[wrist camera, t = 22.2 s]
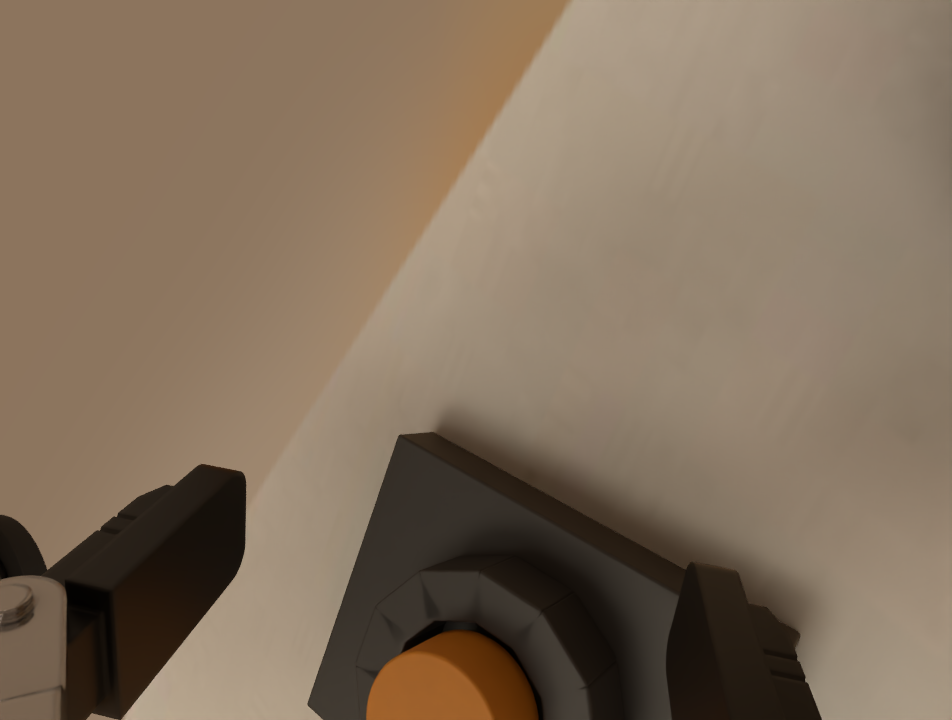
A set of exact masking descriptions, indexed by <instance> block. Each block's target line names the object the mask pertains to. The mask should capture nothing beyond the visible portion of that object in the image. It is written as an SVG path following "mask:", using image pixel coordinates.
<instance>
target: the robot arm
mask: <svg viewBox="0 0 952 720" xmlns="http://www.w3.org/2000/svg"><path fill="white" fill-rule="evenodd" d="M245 529H246V479H245V476H244V474H243V473H242V472H241V471H236V470H231V469H225V468H221V467H215V466H210V465H205V464H201V465H198V466H197V467H196V468H195V469H193V470H192V471H191V472H190V473H189V474H188V475H186V476H185V477H184V478H183V479H182V480H180V481H179V482H178V483H177V484H176V485H175V486H170V485H165V486H162V487H160V488H158V489H155V490H153V491H151V492H148V493H146V494H144V495H141V496H139V497H137V498H136V499H135V500H134V501H132V502H131V503H130V504H129V505H128V506H126V507H125V508H124V509H123V510H121V511H120V512H119V513H118V516H117V517H113V518H111V519H110V520H109V521H108V522H107V523H105V524H104V525H103V526H102V527H101V530H100V531H96V532H94V533H93V534H92V535H91V536H89V537H88V538H87V539H86V540H84V541H83V542H82V543H81V544H79V545H78V546H77V547H76V548H74V549H73V550H72V551H71V552H69V553H68V554H67V555H66V556H65V557H63V558H62V559H61V560H60V561H59V562H57V563H56V564H55V565H53V567H51V568H50V569H48V570H47V571H46V572H45V573H44V574H42V575H41V576H32V575H31V576H17V577H11V578H9V577H8V574H7V572H6V569H5V567H4V565H3V563H2V561H1V560H0V720H86V719H87V718H88V717H89V716H90V714H91V713H94V714H98V715H102V716H106V717H110V718H114V719H118V720H121V719H122V718H123V716H124V715H125V714H126V713H127V711H128V710H129V709H130V708H131V706H132V705H133V704H134V703H135V701H136V700H137V699H138V698H139V696H140V695H141V694H142V693H143V691H144V690H145V689H146V688H147V686H148V685H149V684H150V683H151V681H152V680H153V679H154V678H155V676H156V675H157V674H158V673H159V671H160V670H161V669H162V668H163V666H164V665H165V664H166V663H167V661H168V660H169V659H170V658H171V656H172V655H173V654H174V653H175V651H176V650H177V649H178V648H179V646H180V645H181V644H182V643H183V641H184V640H185V639H186V638H187V636H188V635H189V634H190V633H191V631H192V630H193V629H194V628H195V626H196V625H197V624H198V623H199V621H200V620H201V619H202V618H203V616H204V615H205V614H206V613H207V611H208V610H209V609H210V608H211V606H212V605H213V604H214V603H215V601H216V600H217V599H218V598H219V596H220V595H221V594H222V593H223V591H224V590H225V589H226V588H227V586H228V585H229V584H230V583H231V581H232V580H233V579H234V577H235V576H236V574H237V572H238V570H239V567H240V565H241V562H242V559H243V555H244V550H245ZM797 657H798V656H797V654H796V651H795V648H794V646H793V643H792V641H791V638H790V635H789V633H788V631H787V630H786V629H785V628H784V626H783V625H782V624H781V623H780V622H779V621H778V620H777V618H776V617H775V616H774V615H773V614H772V613H771V612H770V611H769V609H768V608H767V607H763V606H758V605H753V604H748V601H747V598H746V595H745V592H744V589H743V586H742V583H741V579H740V576H739V574H738V572H737V571H736V570H732V569H727V568H722V567H717V566H712V565H707V564H702V563H697V562H690V564H689V565H688V567H687V570H686V573H685V576H684V580H683V584H682V588H681V591H680V595H679V599H678V603H677V606H676V610H675V614H674V618H673V621H672V625H671V629H670V633H669V637H668V642H667V650H666V678H667V685H668V693H669V701H670V708H671V716H672V720H822V719H821V716H820V714H819V711H818V708H817V706H816V703H815V701H814V698H813V695H812V693H811V690H810V688H809V685H808V683H806V682H805V678H806V677H805V675H804V672H803V669H802V667H801V664H800V662H799V661H797Z"/></svg>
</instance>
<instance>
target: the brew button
mask: <svg viewBox="0 0 952 720" xmlns="http://www.w3.org/2000/svg"><path fill="white" fill-rule="evenodd" d="M366 720H539V716H538V710H537V704H536V700H535V697H534V693H533V691H532V688H531V686H530V683H529V681H528V679H527V677H526V675H525V673H524V672H523V670H522V669H521V667H520V666H519V664H518V663H517V662H516V660H515V659H514V658H513V657H512V655H511V654H510V653H509V652H508V651H507V650H506V649H505V648H503V647H502V646H501V645H500V644H498V643H497V642H496V641H494V640H492V639H491V638H489V637H487V636H485V635H483V634H480V633H477V632H474V631H470V630H462V629H460V630H450V631H445V632H443V633H440V634H438V635H436V636H434V637H432V638H430V639H428V640H426V641H424V642H423V643H421V644H419V645H417V646H415V647H413V648H411V649H409V650H407V651H405V652H403V653H401V654H399V655H398V656H396V657H394V658H393V659H391V660H390V661H389V662H388V663H387V664H385V666H384V667H383V668H382V669H381V670H380V672H379V674H378V675H377V677H376V679H375V680H374V683H373V685H372V687H371V690H370V694H369V697H368V703H367V712H366Z"/></svg>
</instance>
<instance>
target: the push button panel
mask: <svg viewBox="0 0 952 720" xmlns="http://www.w3.org/2000/svg"><path fill="white" fill-rule="evenodd" d="M685 573H686V570H684V569H682V568H680V567H679V566H677V565H675V564H673V563H671V562H669V561H668V560H666V559H664V558H662V557H660V556H658V555H657V554H655V553H653V552H651V551H649V550H647V549H646V548H644V547H642V546H640V545H638V544H636V543H635V542H633V541H631V540H629V539H627V538H625V537H624V536H622V535H620V534H618V533H616V532H615V531H613V530H611V529H609V528H607V527H605V526H604V525H602V524H600V523H598V522H596V521H594V520H593V519H591V518H589V517H587V516H585V515H583V514H582V513H580V512H578V511H576V510H574V509H572V508H571V507H569V506H567V505H565V504H563V503H561V502H560V501H558V500H556V499H554V498H552V497H550V496H549V495H547V494H545V493H543V492H541V491H539V490H538V489H536V488H534V487H532V486H530V485H528V484H527V483H525V482H523V481H521V480H519V479H518V478H516V477H514V476H512V475H510V474H508V473H507V472H505V471H503V470H501V469H499V468H497V467H496V466H494V465H492V464H490V463H488V462H486V461H485V460H483V459H481V458H479V457H477V456H475V455H474V454H472V453H470V452H468V451H466V450H464V449H463V448H461V447H459V446H457V445H455V444H453V443H452V442H450V441H448V440H446V439H444V438H442V437H441V436H439V435H437V434H435V433H433V432H429V433H416V434H404V435H399V436H398V439H397V442H396V445H395V448H394V451H393V454H392V457H391V460H390V462H389V465H388V468H387V471H386V474H385V477H384V480H383V483H382V486H381V489H380V492H379V495H378V498H377V501H376V504H375V507H374V509H373V512H372V515H371V518H370V521H369V524H368V527H367V530H366V533H365V536H364V539H363V542H362V545H361V548H360V551H359V554H358V557H357V559H356V562H355V565H354V568H353V571H352V574H351V577H350V580H349V583H348V586H347V589H346V592H345V595H344V598H343V601H342V604H341V606H340V609H339V612H338V615H337V618H336V621H335V624H334V627H333V630H332V633H331V636H330V639H329V642H328V645H327V648H326V651H325V654H324V656H323V659H322V662H321V665H320V668H319V671H318V674H317V677H316V680H315V683H314V686H313V689H312V692H311V695H310V698H309V701H308V706H309V707H310V708H311V709H312V710H313V711H314V712H315V713H317V714H318V715H319V716H320V717H321V718H322V719H323V720H366V712H367V703H368V697H369V694H370V690H371V687H372V685H373V683H374V680H375V679H376V677H377V675H378V674H379V672H380V670H381V669H382V668H383V667H384V666H385V664H387V663H388V662H389V661H390V660H391V659H393V658H394V657H396V656H398V655H399V654H401V653H403V652H405V651H407V650H409V649H411V648H413V647H415V646H417V645H419V644H421V643H423V642H424V641H426V640H428V639H430V638H432V637H434V636H436V635H438V634H440V633H443V632H445V631H450V630H460V629H462V630H470V631H474V632H477V633H480V634H483V635H485V636H487V637H489V638H491V639H492V640H494V641H496V642H497V643H498V644H500V645H501V646H502V647H503V648H505V649H506V650H507V651H508V652H509V653H510V654H511V655H512V657H513V658H514V659H515V660H516V662H517V663H518V664H519V666H520V667H521V669H522V670H523V672H524V673H525V675H526V677H527V679H528V681H529V683H530V686H531V688H532V691H533V693H534V697H535V700H536V704H537V710H538V716H539V720H672V716H671V708H670V701H669V693H668V685H667V678H666V650H667V642H668V637H669V633H670V629H671V625H672V621H673V618H674V614H675V610H676V606H677V603H678V599H679V595H680V591H681V588H682V584H683V580H684V576H685ZM780 623H781V622H780ZM781 624H782V625H783V626H784V628H785V629H786V630H787V631H788V633H789V635H790V638H791V641H792V643H793V646H794V648H796V645H797V643H798V641H799V638H800V633H799V632H798V631H796V630H794V629H792V628H790V627H788V626H787V625H785V624H783V623H781Z"/></svg>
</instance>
